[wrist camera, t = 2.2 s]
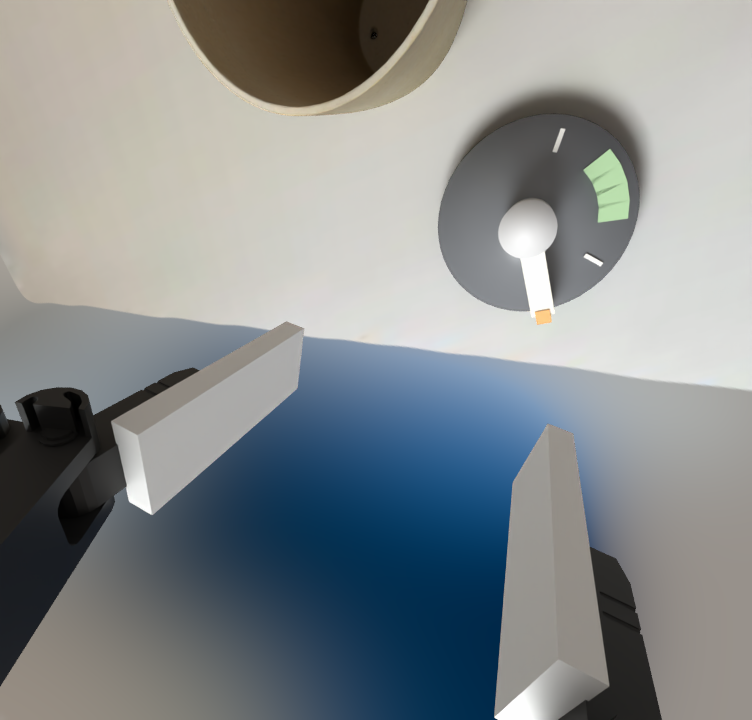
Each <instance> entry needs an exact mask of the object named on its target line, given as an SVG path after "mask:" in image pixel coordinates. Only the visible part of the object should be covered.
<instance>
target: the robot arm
mask: <svg viewBox="0 0 752 720" xmlns="http://www.w3.org/2000/svg"><path fill="white" fill-rule="evenodd" d="M303 334H304V328H302V327H299V326H296V325H294V324H291V323H289V322H285V323H283V324H281V325H279V326H278V327H276V328H274V329H272V330H271V331H269V332H267V333H265V334H264V335H262V336H260V337H258V338H257V339H255V340H253V341H251V342H250V343H248V344H246V345H244V346H242V347H241V348H239V349H238V350H235V351H234V352H232V353H230V354H228V355H227V356H225V357H223V358H221V359H220V360H218V361H216V362H214V363H213V364H211V365H209V366H207V367H206V368H204V369H202V370H197V369H195V368H189V369H185V370H182V371H178V372H174V373H172V374H170V375H168V376H166V377H165V378H163V379H161V380H159V381H158V382H157V383H153V384H151V385H150V386H148V387H146V388H145V389H144V390H140V391H138V392H136V393H134V394H133V395H131V396H129V397H127V398H125V399H123V400H122V401H119V402H118V403H116V404H114V405H112V406H110V407H108V408H106V409H104V410H103V411H101V412H99V413H97V414H95V415H93V413H92V409H91V405H90V402H89V398H88V395H87V394H85V393H84V392H83V391H82V390H78V389H74V388H51V389H45V390H40V391H38V392H35V393H32V394H29V395H26V396H25V397H23V398H21V399H20V400H18V401H16V402H15V404H16V406H17V409H18V411H19V414H20V416H21V419H22V422H20V421H14V420H8V419H6V416H5V414H4V412H3V409H2V408H1V405H0V686H1V684H2V683H3V681H4V680H5V678H6V677H7V675H8V673H9V672H10V670H11V669H12V667H13V666H14V664H15V662H16V660H17V659H18V657H19V656H20V654H21V653H22V651H23V649H24V648H25V647H26V645H27V643H28V642H29V640H30V639H31V637H32V636H33V634H34V632H35V631H36V629H37V628H38V626H39V624H40V623H41V621H42V620H43V618H44V617H45V615H46V613H47V612H48V610H49V609H50V607H51V605H52V604H53V602H54V600H55V599H56V598H57V596H58V594H59V592H60V591H61V590H62V588H63V587H64V585H65V583H66V582H67V580H68V578H69V577H70V575H71V574H72V572H73V571H74V569H75V568H76V566H77V564H78V563H79V561H80V560H81V558H82V557H83V555H84V553H85V552H86V550H87V549H88V547H89V546H90V544H91V542H92V541H93V539H94V538H95V536H96V535H97V533H98V531H99V530H100V528H101V526H102V525H103V523H104V522H105V520H106V519H107V517H108V515H109V514H110V512H111V511H112V509H113V506H114V503H115V499H114V495H115V494H117V493H118V492H119V491H121V490H122V489H123V488H125V487H126V489H127V494H128V498H129V502H131V503H133V504H134V505H136V506H138V507H139V508H141V509H143V510H144V511H146V512H148V513H149V514H151V515H153V514H154V513H155V512H156V511H158V510H159V509H160V508H161V507H162V506H163V505H164V504H166V503H167V502H168V501H169V500H170V499H171V498H173V497H174V496H175V495H176V494H177V493H178V492H179V491H180V490H182V489H183V488H184V487H185V486H186V485H187V484H189V483H190V482H191V481H192V480H193V479H194V478H195V477H196V476H198V475H199V474H200V473H201V472H202V471H203V470H204V469H206V468H207V467H208V466H209V465H210V464H211V463H213V462H214V461H215V460H216V459H217V458H218V457H219V456H220V455H222V454H223V453H224V452H225V451H226V450H227V449H229V448H230V447H231V446H232V445H233V444H234V443H235V442H237V441H238V440H239V439H240V438H241V437H242V436H243V435H245V434H246V433H247V432H248V431H249V430H250V429H251V428H252V427H254V426H255V425H256V424H257V423H258V422H260V421H261V420H262V419H263V418H264V417H265V416H266V415H268V414H269V413H270V412H271V411H272V410H273V409H274V408H276V407H277V406H278V405H279V404H280V403H281V402H282V401H283V400H284V399H286V398H287V397H288V396H289V395H290V394H291V393H293V392H294V391H295V390H296V389H297V387H298V377H299V368H300V360H301V351H302V343H303ZM635 609H636V606H635V602H634V597H633V593H632V589H631V584H630V582H629V581H628V579H627V577H626V575H625V573H624V572H623V570H622V568H621V566H620V565H619V563H618V561H617V559H616V558H613V557H611V556H609V555H606V554H605V553H602V552H600V551H598V550H596V549H594V548H591V547H589V540H588V533H587V527H586V519H585V512H584V506H583V499H582V492H581V485H580V477H579V470H578V463H577V457H576V450H575V443H574V436H573V433H570V432H568V431H565V430H563V429H560V428H558V427H555V426H553V425H550V424H547V426H546V428H545V430H544V431H543V433H542V435H541V436H540V438H539V439H538V441H537V443H536V444H535V446H534V448H533V449H532V451H531V453H530V455H529V456H528V458H527V460H526V461H525V463H524V465H523V466H522V468H521V470H520V471H519V473H518V475H517V476H516V478H515V480H514V481H513V487H512V500H511V512H510V525H509V538H508V551H507V563H506V576H505V589H504V601H503V615H502V627H501V640H500V653H499V665H498V678H497V690H496V703H495V716H494V717H495V718H496V719H498V720H662V718H661V714H660V710H659V705H658V701H657V697H656V692H655V688H654V684H653V680H652V675H651V671H650V667H649V662H648V658H647V654H646V649H645V646H644V641H643V636H642V635H641V634H640V630H641V628H640V624H639V619H638V615H637V613H635Z"/></svg>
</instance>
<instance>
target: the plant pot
mask: <svg viewBox="0 0 752 720" xmlns="http://www.w3.org/2000/svg"><path fill="white" fill-rule="evenodd" d="M167 2H168V4H169V6H170V8H171V10H172V13H173V15H174V17H175V19H176V21H177V23H178V25H179V27H180V29H181V31H182V33H183V34H184V36H185V38H186V40H187V41H188V43H189V44H190V46H191V47H192V49H193V51H194V52H195V53H196V55H197V56H198V57H199V59H200V60H201V62H202V63H203V64H204V65H205V67H206V68H207V69H208V70H209V71H210V72H211V73H212V74H213V75H214V77H215V78H216V79H217V80H219V81H220V82H221V83H222V84H223V85H224V86H225V87H226V88H227V89H229V90H230V91H231V92H232V93H234V94H235V95H237V96H238V97H240V98H241V99H243V100H244V101H246V102H247V103H249V104H251V105H253V106H255V107H258V108H260V109H262V110H265V111H268V112H272V113H276V114H281V115H288V116H318V115H334V114H345V113H353V112H359V111H364V110H368V109H372V108H376V107H379V106H382V105H385V104H388V103H391V102H393V101H395V100H397V99H399V98H401V97H403V96H405V95H407V94H409V93H410V92H412V91H413V90H415V89H416V88H418V87H419V86H420V85H421V84H423V83H424V82H425V81H426V80H427V79H428V78H429V77H430V76H431V75H432V74H433V73H434V72H435V71H436V69H437V68H438V67H439V65H440V64H441V62H442V61H443V60H444V58H445V56H446V54H447V53H448V51H449V49H450V47H451V45H452V43H453V41H454V38H455V36H456V34H457V31H458V28H459V26H460V23H461V20H462V17H463V13H464V10H465V7H466V3H467V0H167ZM373 32H375V33H377V37H376V38H375V39H372V38H371V33H373Z"/></svg>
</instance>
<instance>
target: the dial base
mask: <svg viewBox="0 0 752 720" xmlns="http://www.w3.org/2000/svg"><path fill="white" fill-rule="evenodd" d="M527 198H538V199H541V200H543V201H545V202H547V203H548V204H549V205H550V207H551V208H552V210H553V212H554V214H555V216H556V218H557V225H558V227H557V234H556V237H555V239H554V241H553V243H552V244H551V245H550V247H549V248H548V249H547V250H546V251H545V255H546V261H547V267H548V273H549V279H550V285H551V291H552V298H553V304H554V307H555V306H558V305H561V304H564V303H566V302H569V301H571V300H573V299H575V298H577V297H579V296H580V295H582V294H583V293H585V292H586V291H588V290H590V289H591V288H592V287H593V286H595V285H596V284H597V283H598V282H600V281H601V280H602V279H603V278H604V277H605V276H606V275H607V274H608V273H609V272H610V271H611V270H612V268H613V267H614V266H615V264H616V263H617V262H618V260H619V259H620V258H621V256H622V254H623V253H624V251H625V249H626V248H627V246H628V244H629V241H630V239H631V237H632V234H633V232H634V228H635V225H636V221H637V216H638V209H639V187H638V181H637V176H636V173H635V170H634V166H633V163H632V162H631V160H630V158H629V156H628V154H627V152H626V151H625V149H624V148H623V147H622V145H621V144H620V143H619V142H618V140H617V139H615V138H614V137H613V136H612V135H611V134H610V133H609V132H608V131H606V130H605V129H603V128H602V127H600V126H598V125H597V124H595V123H593V122H590V121H588V120H586V119H583V118H580V117H575V116H571V115H564V114H542V115H535V116H530V117H526V118H522V119H520V120H517V121H514V122H511V123H509V124H507V125H505V126H503V127H501V128H499V129H497V130H496V131H494V132H493V133H491V134H490V135H488V136H487V137H485V138H484V139H483V140H482V141H480V142H479V143H478V144H477V145H476V146H474V147H473V149H472V150H471V151H470V152H469V153H468V154H467V155H466V156H465V157H464V158H463V160H462V161H461V163H460V164H459V165H458V167H457V168H456V170H455V171H454V173H453V175H452V176H451V178H450V180H449V182H448V185H447V187H446V189H445V192H444V195H443V198H442V201H441V206H440V211H439V219H438V235H439V242H440V248H441V251H442V255H443V258H444V260H445V262H446V265H447V267H448V269H449V270H450V272H451V274H452V275H453V277H454V278H455V279H456V281H457V282H458V283H459V284H460V285H461V286H462V287H463V288H464V289H465V290H466V291H467V292H468V293H470V294H471V295H473V296H474V297H475V298H477V299H479V300H481V301H483V302H484V303H486V304H489V305H492V306H494V307H497V308H501V309H506V310H512V311H530V307H529V301H528V296H527V291H526V285H525V280H524V275H523V269H522V264H521V259H520V258H516V257H513V256H511V255H510V254H508V253H507V252H506V251H505V250H504V249H503V248H502V246H501V244H500V241H499V237H498V230H499V225H500V222H501V220H502V218H503V217H504V215H505V214H506V213H507V212H508V210H509V209H510V208H511V207H512V206H513V205H514V204H516V203H517V202H519V201H521V200H523V199H527Z"/></svg>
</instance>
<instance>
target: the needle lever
mask: <svg viewBox="0 0 752 720" xmlns="http://www.w3.org/2000/svg"><path fill="white" fill-rule="evenodd" d="M557 227H558V225H557V218H556V216H555V214H554V212H553V210H552V208H551V207H550V205H549V204H548V203H547V202H545V201H543V200H541V199H538V198H527V199H523V200H521V201H519V202H517V203H516V204H514V205H513V206H512V207H511V208H510V209H509V210H508V212H507V213H506V214H505V215H504V217H503V218H502V220H501V222H500V225H499V230H498V237H499V241H500V244H501V246H502V248H503V249H504V250H505V251H506V252H507V253H508V254H510V255H511V256H513V257H516V258H520V259H521V264H522V269H523V275H524V280H525V285H526V291H527V296H528V301H529V307H530V312H531V317H536V321H537V325H538V324H544V323H550V322H552V321H551V314H554V313H555V311H554V304H553V298H552V291H551V285H550V279H549V273H548V267H547V261H546V255H545V251H546V250H547V249H548V248H549V247H550V245H551V244H552V243H553V241H554V239H555V237H556V234H557Z"/></svg>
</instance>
